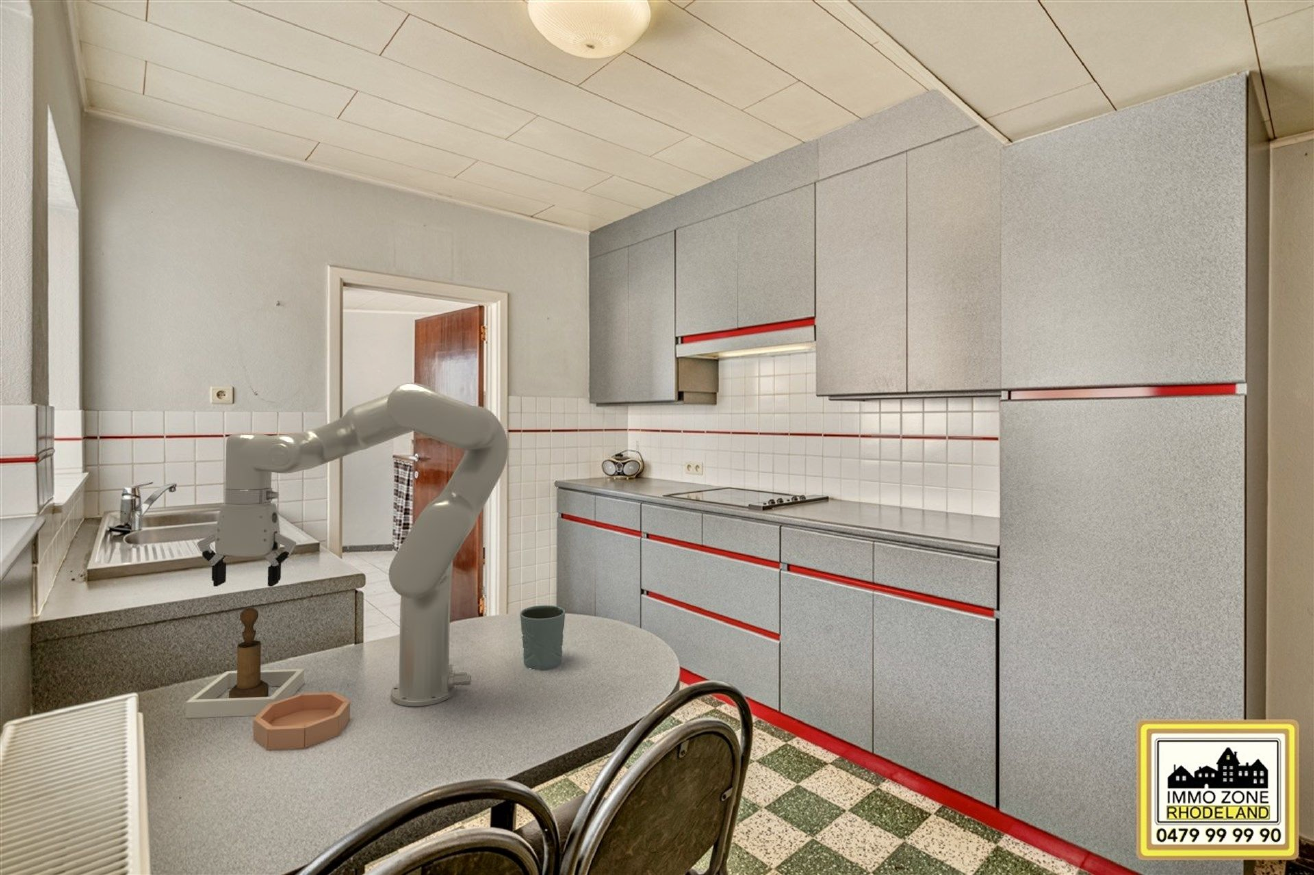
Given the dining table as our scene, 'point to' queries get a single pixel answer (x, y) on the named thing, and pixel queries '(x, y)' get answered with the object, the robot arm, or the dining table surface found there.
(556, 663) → the drinking glass
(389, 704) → the dining table surface
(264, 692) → the dark brown knobbed post
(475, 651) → the dining table surface
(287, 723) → the terracotta bowl
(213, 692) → the open rectangular frame
